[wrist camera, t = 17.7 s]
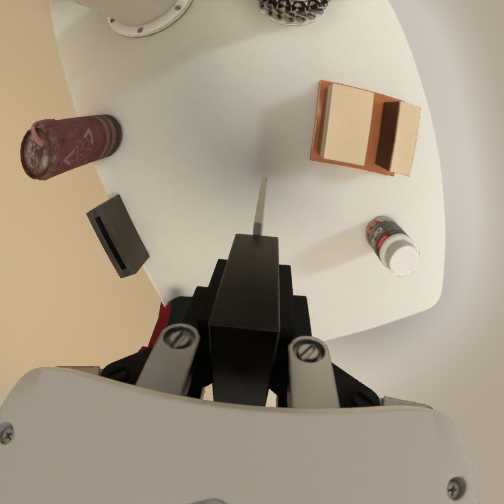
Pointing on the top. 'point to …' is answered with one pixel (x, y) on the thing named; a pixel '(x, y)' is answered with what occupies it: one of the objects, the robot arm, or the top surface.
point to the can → (67, 144)
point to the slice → (398, 137)
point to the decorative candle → (293, 10)
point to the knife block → (118, 236)
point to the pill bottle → (392, 246)
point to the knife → (246, 317)
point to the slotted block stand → (348, 126)
